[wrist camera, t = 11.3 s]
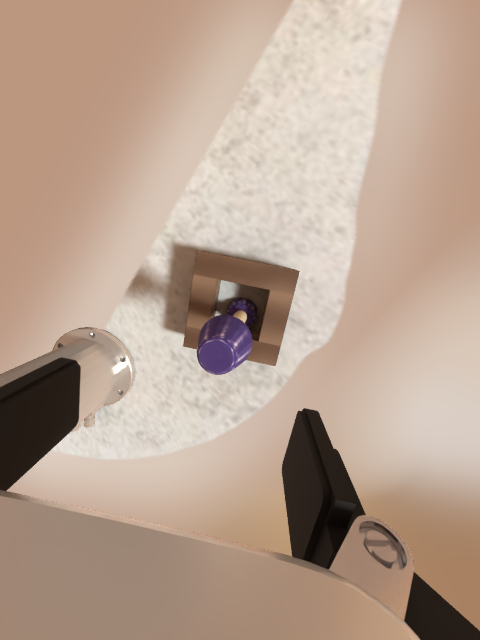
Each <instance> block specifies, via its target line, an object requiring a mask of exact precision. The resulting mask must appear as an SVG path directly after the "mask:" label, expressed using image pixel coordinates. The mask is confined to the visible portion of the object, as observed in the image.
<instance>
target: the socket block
mask: <svg viewBox="0 0 480 640" xmlns="http://www.w3.org/2000/svg"><path fill="white" fill-rule="evenodd" d="M299 272H300V271H297V270H294V269H289V268H284V267H279V266H274V265H269V264H264V263H259V262H254V261H249V260H244V259H239V258H235V257H230V256H225V255H220V254H215V253H210V252H205V251H197V253H196V260H195V267H194V274H193V281H192V288H191V295H190V302H189V309H188V316H187V323H186V330H185V337H184V344H183V346H184V347H189V348H193V349H197V346H198V339H199V334H200V331H201V329H202V327H203V326H204V324H205V323H206V322H207V321H209V320H210V319H211V318H213V317H215V311H216V305H217V300H218V294H219V288H220V282H221V280H224V281H229V282H234V283H239V284H243V285H248V286H253V287H258V288H263V289H268V294H267V299H266V303H265V307H264V312H263V316H262V321H261V325H260V330H259V332H256V331H252V330H250V332H251V335H252V340H253V344H252V350H251V352H250V354H249V356H248V357H247V359H246V360H249V361H254V362H258V363H263V364H268V365H272V366H276V362H277V358H278V354H279V350H280V346H281V343H282V339H283V335H284V331H285V327H286V323H287V319H288V315H289V311H290V307H291V303H292V299H293V295H294V291H295V287H296V283H297V279H298V275H299Z"/></svg>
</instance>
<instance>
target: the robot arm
mask: <svg viewBox="0 0 480 640" xmlns="http://www.w3.org/2000/svg"><path fill="white" fill-rule="evenodd" d="M134 375H135V370H134V364H133V360H132V357H131V355H130V353H129V352H128V350H127V349H126V347H125V346H124V345H123V343H121V342H120V341H119V340H118V339H117V338H116V337H114V336H113V335H112V334H110V333H108V332H106V331H104V330H100V329H97V328H89V327H85V328H79V329H76V330H72V331H70V332H68V333H66V334H64V335H63V336H62V337H61V338H59V340H58V341H57V342H56V344H55V346H54V348H53V350H52V352H50V353H48V354H45V355H43V356H41V357H38V358H36V359H34V360H32V361H29V362H27V363H25V364H23V365H20V366H18V367H16V368H14V369H11V370H9V371H7V372H5V373H2V374H0V640H480V631H479V630H478V629H477V628H476V627H474V626H473V625H472V624H471V623H470V622H469V621H468V620H467V619H466V618H464V617H463V616H462V615H461V614H460V613H459V612H458V611H457V610H456V609H455V608H453V607H452V606H451V605H450V604H449V603H448V602H447V601H445V600H444V599H443V598H442V597H441V596H440V595H439V594H438V593H437V592H436V591H434V590H433V589H432V588H431V587H430V586H429V585H428V584H427V583H426V582H425V581H423V580H422V579H421V578H420V577H419V576H418V575H417V574H416V573H415V572H414V560H413V558H412V555H411V552H410V550H409V549H408V547H407V545H406V543H405V542H404V541H403V539H402V538H401V537H400V536H399V535H398V533H397V532H395V531H394V530H393V529H392V528H391V527H390V526H389V525H387V524H386V523H384V522H383V521H381V520H380V519H377V518H375V517H373V516H368V515H366V514H365V512H364V510H363V507H362V505H361V503H360V501H359V498H358V496H357V494H356V491H355V489H354V486H353V484H352V482H351V480H350V477H349V475H348V473H347V470H346V468H345V466H344V464H343V461H342V459H341V456H340V454H339V452H338V451H337V450H336V449H333V446H332V444H331V441H330V439H329V436H328V434H327V432H326V429H325V427H324V424H323V422H322V419H321V417H320V414H319V412H318V411H315V410H310V409H305V408H304V409H303V410H302V411H298V413H297V416H296V419H295V423H294V426H293V429H292V433H291V437H290V440H289V443H288V447H287V450H286V454H285V457H284V461H283V465H282V476H283V484H284V492H285V501H286V508H287V517H288V525H289V533H290V542H291V549H292V557H291V556H288V555H285V554H281V553H277V552H273V551H269V550H265V549H261V548H257V547H253V546H249V545H244V544H241V543H237V542H233V541H228V540H224V539H220V538H215V537H211V536H207V535H202V534H198V533H193V532H189V531H184V530H180V529H176V528H171V527H167V526H163V525H158V524H154V523H149V522H145V521H140V520H136V519H131V518H127V517H122V516H118V515H113V514H109V513H104V512H99V511H95V510H90V509H86V508H81V507H77V506H72V505H68V504H63V503H59V502H54V501H49V500H44V499H40V498H35V497H31V496H26V495H21V494H17V493H12V492H7V490H8V489H9V488H10V487H11V486H12V485H13V484H14V483H15V482H16V481H17V480H19V479H20V478H21V477H22V476H23V475H24V474H25V473H26V472H27V471H28V470H29V469H31V468H32V467H33V466H34V465H35V464H36V463H37V462H38V461H39V460H40V459H41V458H42V457H44V456H45V455H46V454H47V453H48V452H49V451H50V450H51V449H52V448H53V447H54V446H55V445H57V444H58V443H59V442H60V441H61V440H62V439H63V438H64V437H65V436H66V435H67V434H69V433H70V432H73V431H76V430H78V429H79V428H80V427H81V421H83V420H84V426H85V427H92V426H93V425H94V424H95V416H94V415H95V413H96V412H97V411H98V410H99V409H100V408H101V407H102V406H108V405H111V404H114V403H116V402H118V401H119V400H120V399H122V398H123V397H124V396H125V395H126V394H127V393H128V392H129V390H130V388H131V387H132V384H133V381H134Z"/></svg>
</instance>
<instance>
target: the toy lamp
mask: <svg viewBox="0 0 480 640" xmlns="http://www.w3.org/2000/svg"><path fill="white" fill-rule="evenodd" d="M256 318H257V309H256V306H255V305H254V303H253V302H251V301H250V300H248V299H245V298H238V299H235V300H233V301H232V302H231V303H230V304H229V306H228V308H227V315H220V316H216V317H213V318H211V319H210V320H209V321H207V322H206V323H205V324H204V326H203V327H202V329H201V331H200V334H199V339H198V346H197V358H198V361H199V363H200V365H201V367H202V368H203V369H205V370H206V371H207V372H209V373H211V374H215V375H221V374H226V373H228V372H230V371H232V370H233V369H235V368H236V367H237V366H239V365H240V364H241V363H243V362H244V361H245V360H246V359H247V357H248V356H249V354H250V352H251V350H252V344H253V340H252V335H251V332H250V330H249V328H248V327H250V326H251V325H253V324H254V322H255V321H256Z"/></svg>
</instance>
